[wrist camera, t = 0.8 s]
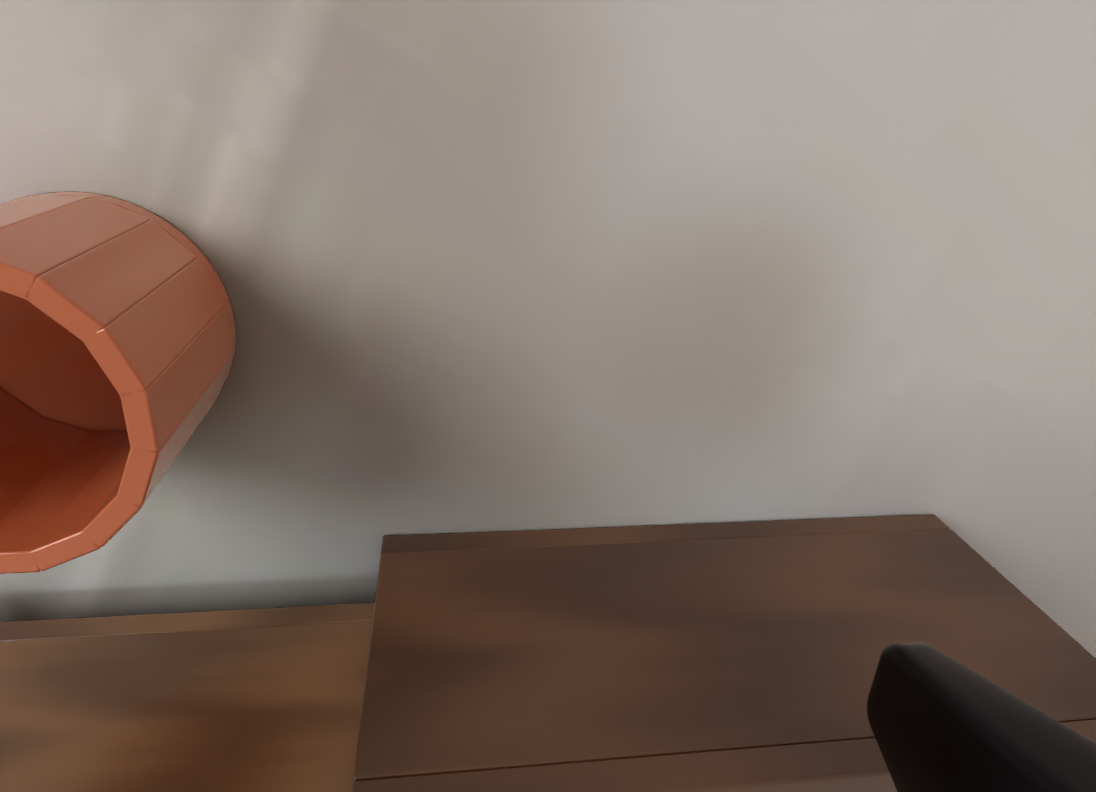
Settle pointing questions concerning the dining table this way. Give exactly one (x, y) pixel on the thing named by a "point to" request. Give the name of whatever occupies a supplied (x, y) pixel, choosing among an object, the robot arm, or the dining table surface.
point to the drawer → (184, 701)
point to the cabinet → (680, 654)
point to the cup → (97, 367)
